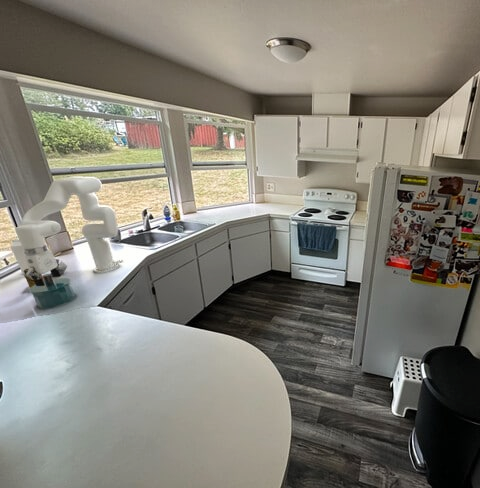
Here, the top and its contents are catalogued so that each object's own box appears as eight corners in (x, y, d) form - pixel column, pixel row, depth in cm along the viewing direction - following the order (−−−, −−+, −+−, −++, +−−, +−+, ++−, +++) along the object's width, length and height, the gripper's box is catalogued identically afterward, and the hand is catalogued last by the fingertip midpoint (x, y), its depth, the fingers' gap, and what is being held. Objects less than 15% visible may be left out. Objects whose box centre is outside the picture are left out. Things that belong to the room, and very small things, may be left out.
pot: (70, 290, 141) (64, 275, 138) (79, 301, 131) (73, 286, 128) (34, 300, 131) (27, 285, 128) (42, 314, 121) (34, 297, 117)
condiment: (44, 288, 142) (37, 270, 138) (23, 293, 137) (14, 273, 133) (48, 283, 148) (41, 265, 143) (28, 287, 143) (19, 268, 139)
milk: (35, 272, 159) (22, 240, 152) (22, 274, 157) (8, 241, 149) (41, 268, 164) (28, 237, 157) (28, 270, 162) (14, 238, 154)
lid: (67, 277, 137) (63, 266, 135) (74, 285, 130) (70, 274, 127) (27, 287, 126) (22, 276, 124) (32, 297, 118) (27, 285, 116)
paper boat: (54, 277, 153) (37, 273, 151) (60, 281, 158) (44, 278, 157) (69, 260, 160) (53, 257, 159) (74, 265, 165) (59, 262, 164)
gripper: (28, 256, 113) (42, 289, 119) (59, 243, 129) (70, 273, 135) (9, 257, 112) (24, 290, 118) (43, 243, 128) (54, 273, 134)
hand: (49, 281), depth 127 cm, fingers open, 9 cm apart
